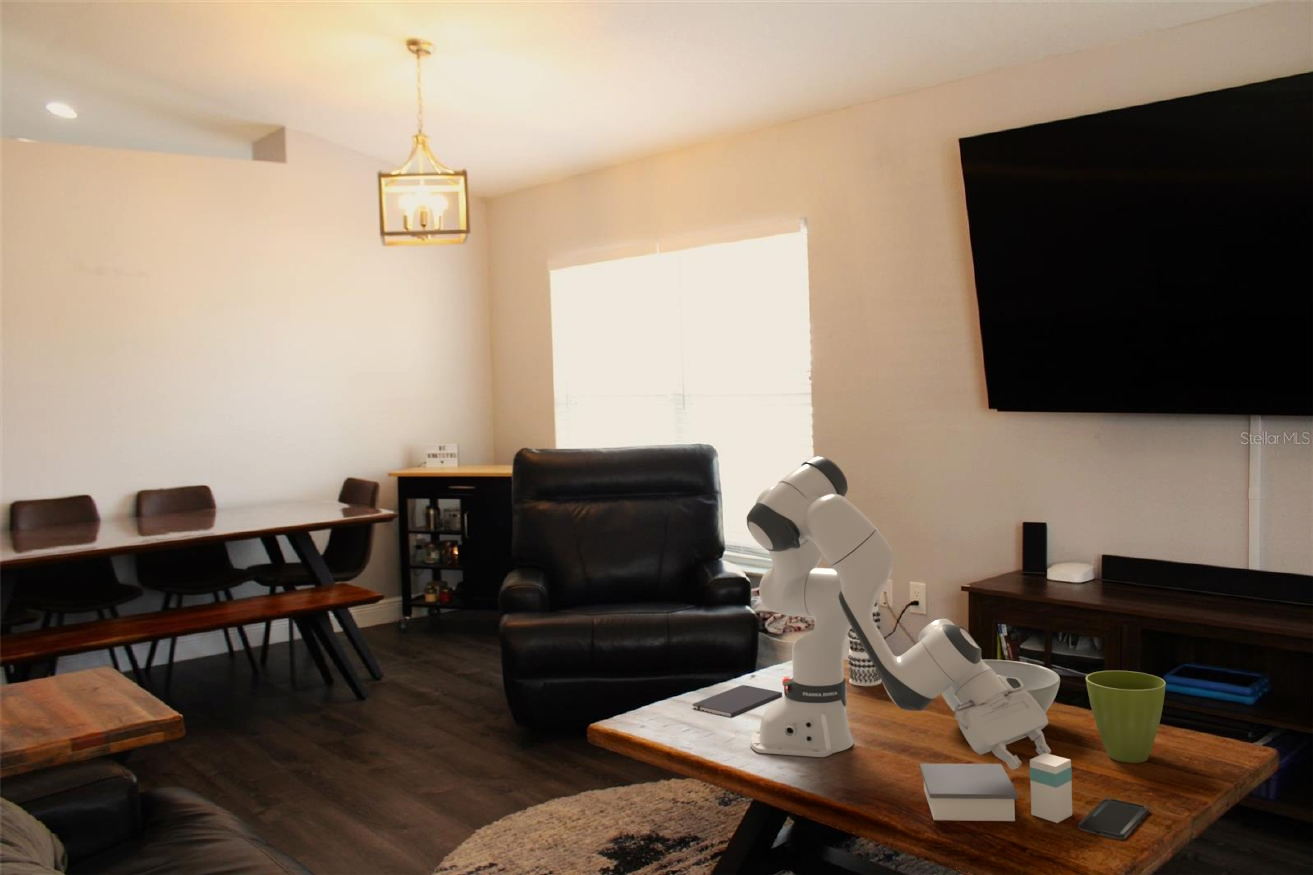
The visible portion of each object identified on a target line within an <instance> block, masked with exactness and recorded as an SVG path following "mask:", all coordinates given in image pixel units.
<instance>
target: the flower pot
mask: <svg viewBox="0 0 1313 875" xmlns="http://www.w3.org/2000/svg"><path fill="white" fill-rule="evenodd" d="M1085 676H1086V677H1085V683H1086V690H1087V693H1088V697H1089V698H1088V699H1089V703H1090V707H1091V710H1092V715H1093V717H1094V722H1095V725H1096V728H1097V730H1098V733H1099V737H1100V739H1101V742H1102V744H1103V746H1104V748H1105V752H1106V754H1107V756H1108V758H1110V759H1112V760H1114V761H1117V762H1121V763H1128V764H1129V763H1130V764H1134V763H1135V764H1136V763H1137V764H1138V763H1144V762H1146V761H1147V760H1148V759H1149V756H1150V754H1151V751H1152V748H1153V746H1154V743H1155V739H1156V737H1157V734H1158V729H1159V725H1160V724H1161V723H1160V722H1161V717H1162V712H1163V706H1164V702H1165V701H1164V700H1165V695H1166V684H1167V683H1166V681H1165V680H1164V679H1163V678H1161V677H1159V676H1156V675H1153V674H1148V673H1145V672H1138V671H1130V670H1129V671H1128V670H1102V671H1096V672H1095V671H1094V672H1092V673H1089V674H1087V675H1085Z"/></svg>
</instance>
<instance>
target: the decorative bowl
mask: <svg viewBox="0 0 1313 875" xmlns="http://www.w3.org/2000/svg"><path fill="white" fill-rule="evenodd" d="M982 660H983V661H984V662H985V663H986V664H987V665H988V666H989V667H990V668H992V669H993V671H994V672H995V673H996V675H1002V676H1005V677H1013V678H1018V679H1020V680H1021V682H1022V683H1023V685H1024V687H1023V688H1022V689H1021V690H1025V691H1027V692H1028V693H1029V694H1030V695H1031V696H1032V697H1033V698H1034V699H1035V700H1036V702H1037V703H1038V704H1039V706H1040V707H1041V708H1042V710H1043V711H1044V712H1045V714H1046V713H1047V711H1048V710H1049V709H1050V708H1051V706H1052V705H1053V702H1054V701H1055V699H1056V696H1057V694H1058V691H1059V688H1060V683H1061V678H1060V675H1059V674H1058V673H1056V672H1055V670H1052V669H1050V668H1048V667H1044V666H1041V665H1038V664H1034V663H1029V662H1023V661H1014V660H1007V659H1005V660H1003V659H982ZM941 696H942V697H943V699H944V700H945V702H946V704H947V705H948V706H949V708H950V709H951V710H952V711H953V712H954V711H955V707H956V706H958V705H960V703H959V702H958V700H957V699H956V698H955V696H954V695H953V693H952V690H951V688H950V687H949V688H948V689H946V690H945V691H943V692H942V693H941Z"/></svg>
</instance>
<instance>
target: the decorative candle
mask: <svg viewBox="0 0 1313 875" xmlns="http://www.w3.org/2000/svg"><path fill="white" fill-rule="evenodd" d="M878 610H879V605H878V600H877V601H876V603H875V605H874V608H873V614H872V615H873V620H874V623H875V625H876V626H877V628H878V630H879V631H880V629H881V626H880V625H879V624H878V623H880V622H881V619H880V618H879V617H880V616H881V613H880V612H879V611H878ZM847 639H848V640H849V648H848V651H849V652H848V654H849V655H848V657H847V658H848V660H849V661H848V665H849V667H848V672H849V673H848V677H849V678H850V679H849V680H848V681H849V683H850V684H852V685H854V686H859V687H861V686H862V687H874V686H878V685H880V684H882V683H883V682H882V679H881V677H880V675H879V674H878V672H877V670H876V668H875V666H874V665H873V663H872V661H871V660H870V658H869V656H868V654H867V653H866V651H865V649H864V648H863V646H862V644H861V642H860V641H859V639H858V637H857V635H856V634H855V632H854V630H853V628H852V627H851V629H850V631H849V632H848V635H847Z"/></svg>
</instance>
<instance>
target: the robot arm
mask: <svg viewBox="0 0 1313 875" xmlns="http://www.w3.org/2000/svg"><path fill="white" fill-rule="evenodd" d="M848 490H849V488H848V481H847V477H846V476H845V474H844V472H843V470H842V469H841V468H840V467H839V466H838V465H837V464H836V463H835V462H834V461H832V460H831V459H829V458H828V457H823V456H814V457H812V458H810V459H807V460H806V461H804V462H802V464H801V465H800V466H799V467H797V468H796V469H795V470H792V471H791V472H790V473H789V474H788V475H786V476H785V477H784V478H782V479H781V480H779V481H778V483H777V484H776V485H773V486H769V487H768V488H766V489H764V490H763V491H762V492H761V493H760V494H759V495H758V497H757V499H756V501H755V504H754V505H753V506H752V507H751V509H750V511H749V512H748V514H747V515H746V526H747V528H748V531H749V532H750V534H751V536H752V538H753V539H754V540H755V541H756V543H757V544H759V545H760V546H762V548H764V549H765V550H767V551H768V552H769V556H770V558H771V561H772V567H771V568H769V569H768V570H766V571H765V573H764V574H763V575H762V577H761V579H760V582H759V587H758V593H759V598H760V601H761V604H762V605H763V606H764V608H765V609H766V610H768V611H771V612H772V613H773V612H774V613H777V614H780V615H783V616H788V617H789V616H790V617H798V618H799V617H801V618H802V617H803V618H813V619H814V626H813V630H811V631H808V632H806V633H805V634H803V635H801V636H798V638H797V639H796V640H795V641H794V643H793V646H792V647H791V648H792V649H791V657H792V658H791V662H792V663H791V664H792V678H790V676H784V677H783V678H782V686H783V692H784V693H783V694H784V696H782V697H781V698H780V699H779V700H777V701H776V702H775V703H774V704H772V705H771V706H769V707H768V708H766V710H765V711H764V713H763V715H762V718H761V721H760V728H759V729H757V730H755V731H754V732H753V733H752V735H751V737H750V747H751V749H752V750H753V751H755V752H756V753H758V754H770V755H771V754H773V755H785V756H786V755H787V756H798V757H799V756H801V757H813V758H825V757H828V756H831V755H832V754H835V753H838V752H843V751H845V750H848V749H850V748H851V747H852V746H853V745H854V739H853V736H852V733H851V730H850V726H849V721H848V720H849V719H848V714H847V707H846V705H847V701H848V693H847V692H848V691H847V689H848V688H847V682H846V678H844V651H845V650H844V648H845V643H846V639H847V638H848V636H847V635H848V632H849V631H850V629H851V627H852V628H853V630H854V632H855V634H856V635H857V637H858V639H859V641H860V642H861V644H862V646H863V648H864V649H865V651H866V653H867V654H868V656H869V658H870V660H871V661H872V663H873V665H874V666H875V668H876V670H877V672H878V674H879V675H880V677H881V678H880V679H881V680H882V682H881V683H882V684H883V687H884V689H885V691H886V693H887V695H888V697H889V698H890V699H891V701H892V702H893V703H894V704H895V705H896V706H898V707H899V709H900V710H905V711H910V712H922V711H923V710H924V709H925V708H927V707H928V706H929V705H930V704H931V703H932V702H933V701H935V700H936V698H937V697H938V696H939V695H940V694H941V695H942V692H943V691H945V690H946V689H948V688H949V687H950V688H951V690H952V693H953V695H954V696H955V698H956V699H957V700H958V702H959V703H960V705H958V706H956V707H955V711H953V712H954V714H953V715H954V718H955V719H956V720H957V722H958V723H957V724H958V727H959V729H960V731H961V732H962V734H963V736H964V738H965V739H966V741H967V742H968V744H969V745H970V748H971V749H972V750H973V751H974V752H975V753H976V754H978V755H980V756H982V755H984V754H987V753H989V752H992V753H993V754H994V756H995V757H997V758H998V759H1000V760H1002V762H1004V763H1006V765H1007V766H1008V768H1009V770H1012V771H1014V770H1016V769H1018V768H1019V767H1020V766H1022V760H1020V758H1019V757H1018V756H1017V755H1016V754H1015V755H1013V754H1012V753H1011V752H1010V751H1008V749H1007V745H1009V744H1012V743H1015V742H1017V741H1019V740H1021V739H1024V738H1027V737H1028V738H1029V739H1030V740H1031V741H1034V744H1035V746H1036V749H1035V752H1036V754H1038V756H1039V755H1042V754H1044V753H1047V754H1051V752H1052V750H1051V748H1050V747H1049V746H1048V744H1047V742H1046V739H1045V735H1044V733H1043V731H1042V730H1043V729H1044V728H1045V727H1046V726H1048V724H1049V719H1048V716H1047V714H1046V713H1045V712H1044V711H1043V710H1042V708H1041V707H1040V706H1039V704H1038V703H1037V702H1036V700H1035V699H1034V698H1033V697H1032V696H1031V695H1030V694H1029V693H1028V692H1027V691H1025V690H1021V689H1022V688H1023V687H1024V685H1023V683H1022V682H1021V680H1020V679H1018V678H1013V677H1005V676H1002V675H996V673H995V672H994V671H993V669H992V668H990V667H989V666H988V665H987V664H986V663H985V662H984V661H983V660H984V659H982V648H981V647H980V645H979V644H978V643H977V642H976V641H975V639H974V637H973V636H972V635H971V633H969V631H968V629H966V628H965V627H964V626H961V625H957V624H954V622H952V621H951V620H950V619H948V618H939V619H936V620H933V621H932V622H930V623H928V624H927V625H925V626H924V627H923V628H922V630H921V631H920V632H919V634H918V638H917V641H918V642H917V643H916V644H914V645H913V646H912V647H910V648H909V649H908V650H906V652H904V653H902V654H901V655H894V654H893V653H892V652H893V651H892V650H891V649H890V646H889V645H888V643H887V641H886V640H885V638H884V636H883V634H882V633H881V631H880V629H879V630H878V628H877V626H876V625H875V623H874V620H873V615H872V614H873V608H874V605H875V603H876V601H877V602H878V599H879V598H880V595H881V594H882V592H883V591H884V589H885V588H886V585H887V584H888V582H889V580H890V578H891V575H892V572H893V569H894V564H895V563H894V562H895V560H894V559H895V558H894V552H893V549H892V547H891V545H890V544H889V542H888V541H887V540H886V538H885V537H884V535H882V533H881V531H879V530H878V528H877V527H876V526H875V525H874V524H873V522H872V521H871V520H870V519H869V518H868V517H867V516H866V515H865V514H864V513H863V512H862V511H861V510H860V509H859V508H857V507H856V505H854V504H853V503H852V502H850V501H849V500H848V499H847V498H845V496H846V495H847V493H848ZM823 557H824V559H826V561H827V562H828V564H829V565H830V568H828V567H818V565H819V564H820V563H821V561H822V559H823ZM831 567H832V568H831Z"/></svg>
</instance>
